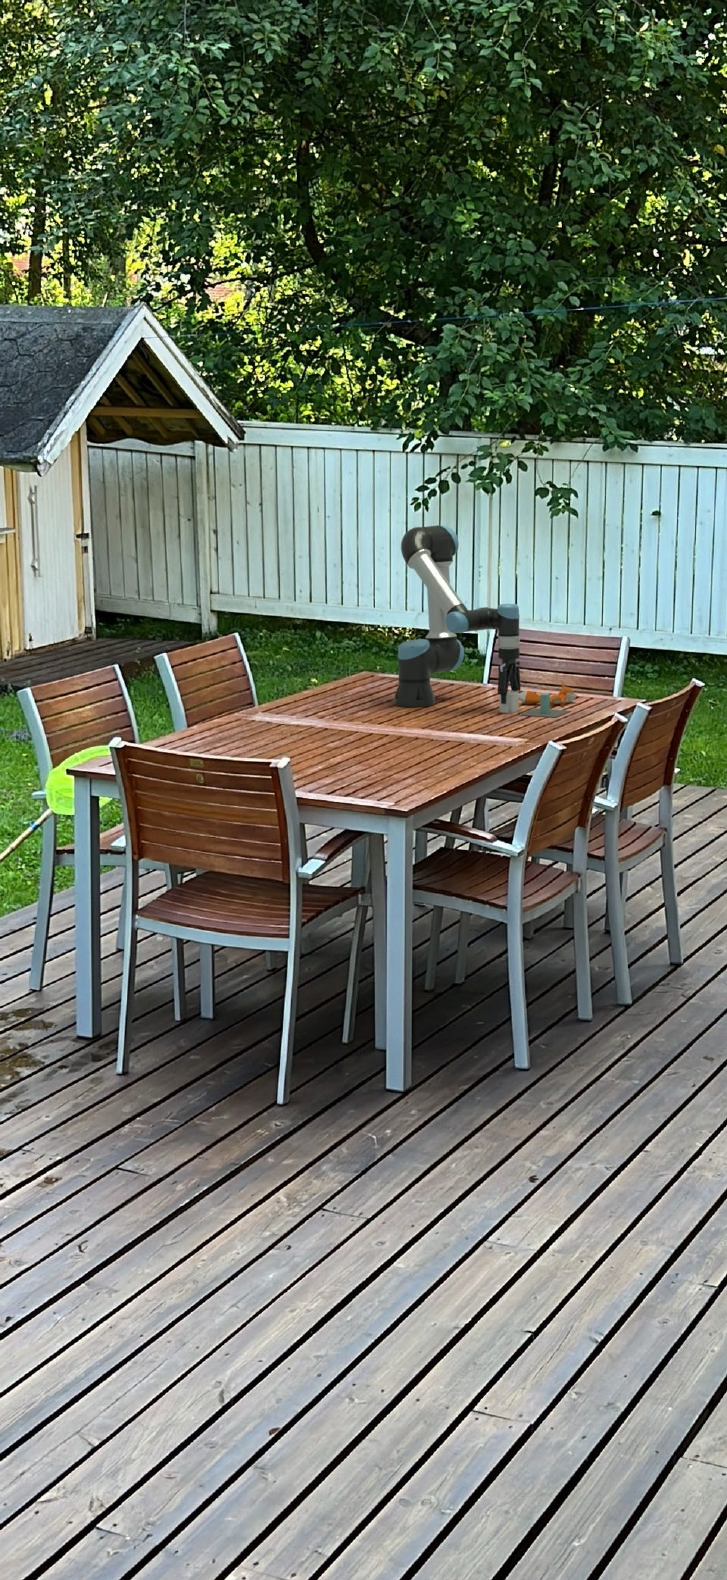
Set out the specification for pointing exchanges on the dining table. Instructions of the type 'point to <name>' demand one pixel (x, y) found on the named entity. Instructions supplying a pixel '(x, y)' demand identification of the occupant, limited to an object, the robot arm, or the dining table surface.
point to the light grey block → (511, 702)
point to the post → (544, 703)
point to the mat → (552, 713)
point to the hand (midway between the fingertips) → (509, 710)
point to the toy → (563, 698)
